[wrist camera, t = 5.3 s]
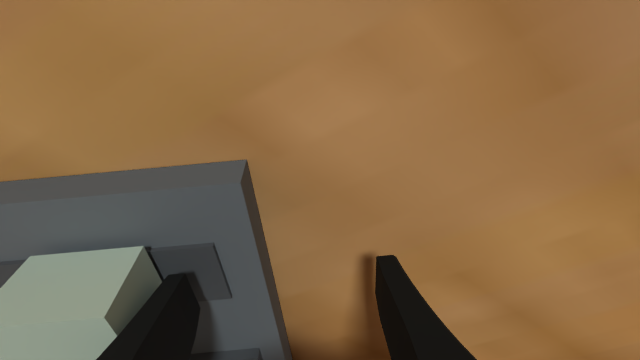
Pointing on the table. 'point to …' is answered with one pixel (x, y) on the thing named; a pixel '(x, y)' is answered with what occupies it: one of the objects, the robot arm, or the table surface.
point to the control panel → (163, 242)
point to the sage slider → (73, 303)
